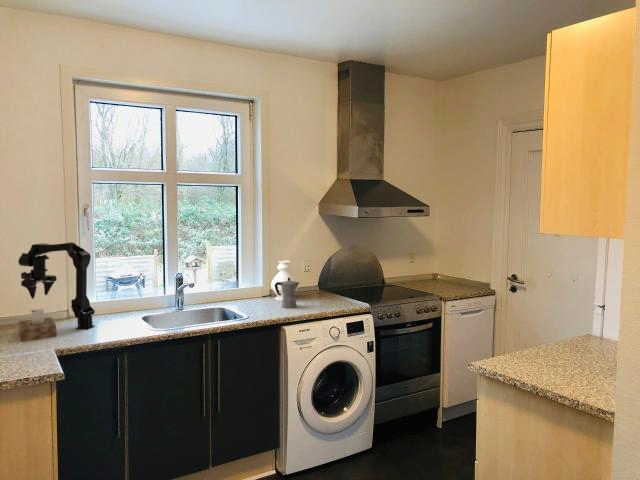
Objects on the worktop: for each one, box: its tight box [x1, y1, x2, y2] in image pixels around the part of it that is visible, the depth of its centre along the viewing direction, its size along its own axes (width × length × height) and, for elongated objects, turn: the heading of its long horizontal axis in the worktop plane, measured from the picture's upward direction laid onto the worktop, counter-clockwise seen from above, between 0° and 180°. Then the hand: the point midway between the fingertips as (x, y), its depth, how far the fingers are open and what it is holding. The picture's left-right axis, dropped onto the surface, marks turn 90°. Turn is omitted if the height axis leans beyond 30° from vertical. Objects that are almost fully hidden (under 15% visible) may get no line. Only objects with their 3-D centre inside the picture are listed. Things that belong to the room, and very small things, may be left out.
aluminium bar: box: [30, 308, 45, 325], centre depth 247 cm, size 5×5×10 cm
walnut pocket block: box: [17, 316, 57, 342], centre depth 247 cm, size 15×20×6 cm
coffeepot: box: [275, 278, 300, 309], centre depth 305 cm, size 15×9×18 cm, turn 103°
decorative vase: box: [270, 259, 299, 301], centre depth 330 cm, size 18×18×25 cm
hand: (39, 296), depth 263 cm, fingers open, 9 cm apart
